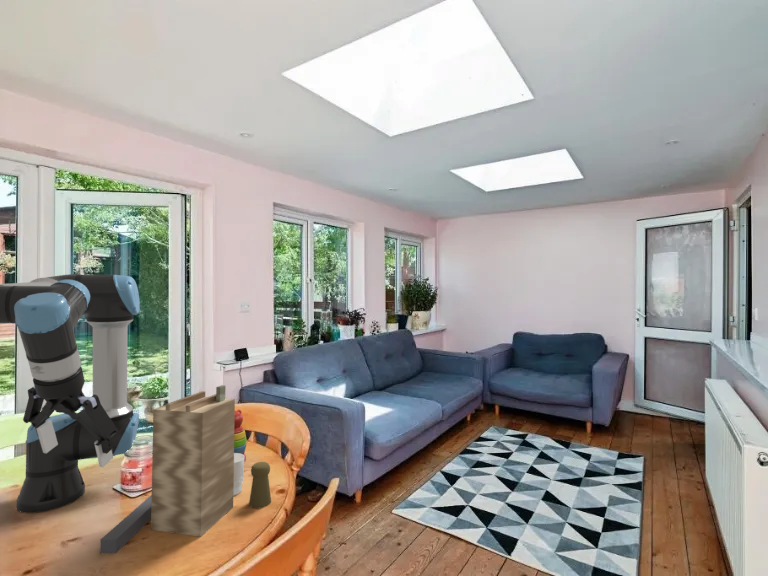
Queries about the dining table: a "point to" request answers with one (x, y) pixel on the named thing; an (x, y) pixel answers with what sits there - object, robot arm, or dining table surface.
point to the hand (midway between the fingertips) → (78, 455)
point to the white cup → (238, 473)
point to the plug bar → (126, 528)
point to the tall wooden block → (192, 463)
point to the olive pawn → (260, 485)
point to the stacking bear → (239, 434)
